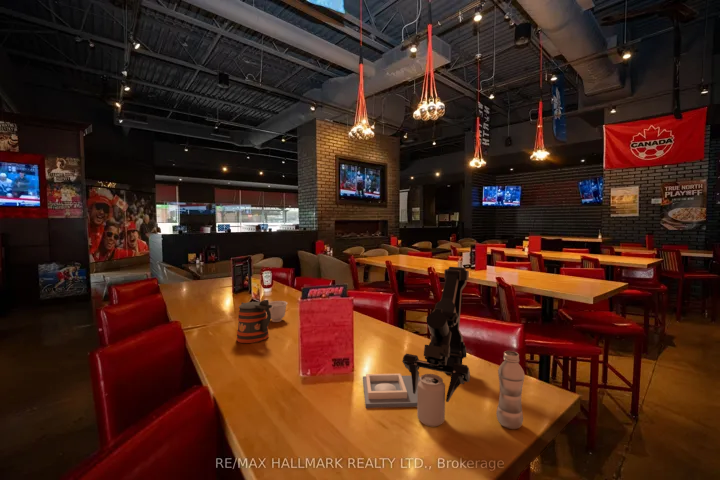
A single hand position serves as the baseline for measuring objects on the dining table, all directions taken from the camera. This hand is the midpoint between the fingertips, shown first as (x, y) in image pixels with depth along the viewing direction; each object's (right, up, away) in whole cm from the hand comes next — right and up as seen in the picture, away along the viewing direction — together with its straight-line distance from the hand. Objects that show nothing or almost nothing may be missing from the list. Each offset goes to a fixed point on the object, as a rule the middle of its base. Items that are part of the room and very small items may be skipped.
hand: (430, 397), depth 87 cm
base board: (-8, -6, +16) cm, 19 cm away
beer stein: (-69, -4, +63) cm, 94 cm away
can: (0, -7, +1) cm, 7 cm away
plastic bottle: (+22, -7, -1) cm, 23 cm away
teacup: (-67, -3, +91) cm, 113 cm away
